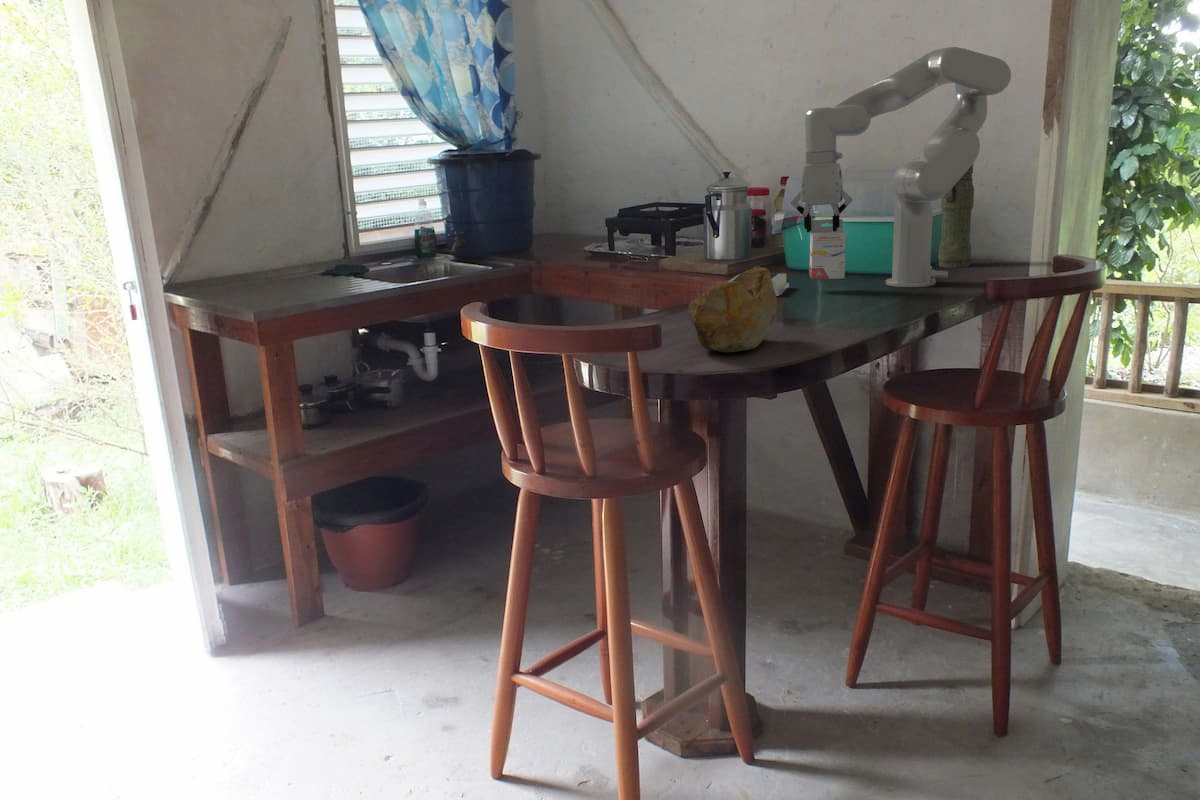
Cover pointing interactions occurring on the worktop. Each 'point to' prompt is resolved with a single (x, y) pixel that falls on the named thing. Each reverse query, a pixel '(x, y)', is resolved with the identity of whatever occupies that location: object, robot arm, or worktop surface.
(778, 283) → the rail dock
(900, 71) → the robot arm
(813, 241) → the ink cartridge box
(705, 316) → the rough brown rock
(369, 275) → the worktop surface
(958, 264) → the thermos
